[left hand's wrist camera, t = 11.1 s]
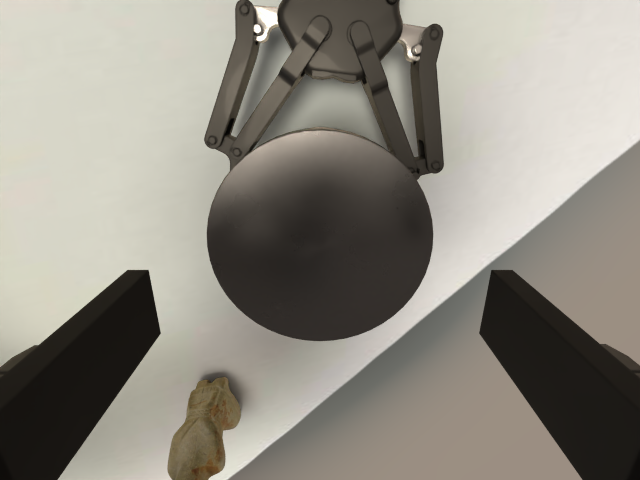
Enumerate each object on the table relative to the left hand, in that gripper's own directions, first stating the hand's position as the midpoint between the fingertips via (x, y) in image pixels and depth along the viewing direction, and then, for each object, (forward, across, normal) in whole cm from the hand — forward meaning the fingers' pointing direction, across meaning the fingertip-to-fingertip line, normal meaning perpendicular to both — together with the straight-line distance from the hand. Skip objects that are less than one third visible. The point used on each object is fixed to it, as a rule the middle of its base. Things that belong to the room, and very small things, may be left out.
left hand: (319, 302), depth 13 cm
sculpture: (+23, -12, -26) cm, 37 cm away
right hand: (+16, 0, -4) cm, 17 cm away
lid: (+6, 0, 0) cm, 6 cm away
